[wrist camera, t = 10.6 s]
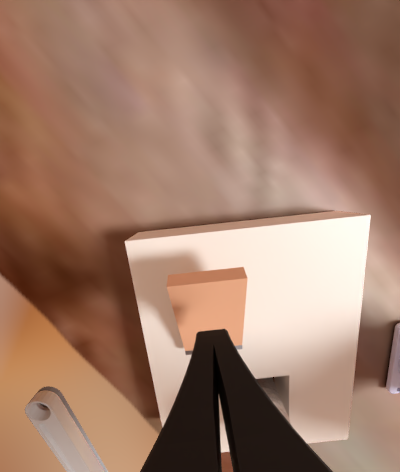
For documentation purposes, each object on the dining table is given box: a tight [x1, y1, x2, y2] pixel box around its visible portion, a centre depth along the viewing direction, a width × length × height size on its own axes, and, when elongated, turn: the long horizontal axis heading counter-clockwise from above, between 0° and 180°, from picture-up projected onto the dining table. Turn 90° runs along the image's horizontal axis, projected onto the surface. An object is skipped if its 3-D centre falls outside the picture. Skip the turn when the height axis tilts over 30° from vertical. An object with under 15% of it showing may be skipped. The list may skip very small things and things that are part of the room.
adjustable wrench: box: [25, 386, 108, 472], centre depth 20 cm, size 25×6×2 cm, turn 13°
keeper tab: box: [167, 267, 248, 355], centre depth 11 cm, size 4×8×1 cm, turn 6°
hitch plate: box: [125, 211, 371, 452], centre depth 16 cm, size 16×20×3 cm
